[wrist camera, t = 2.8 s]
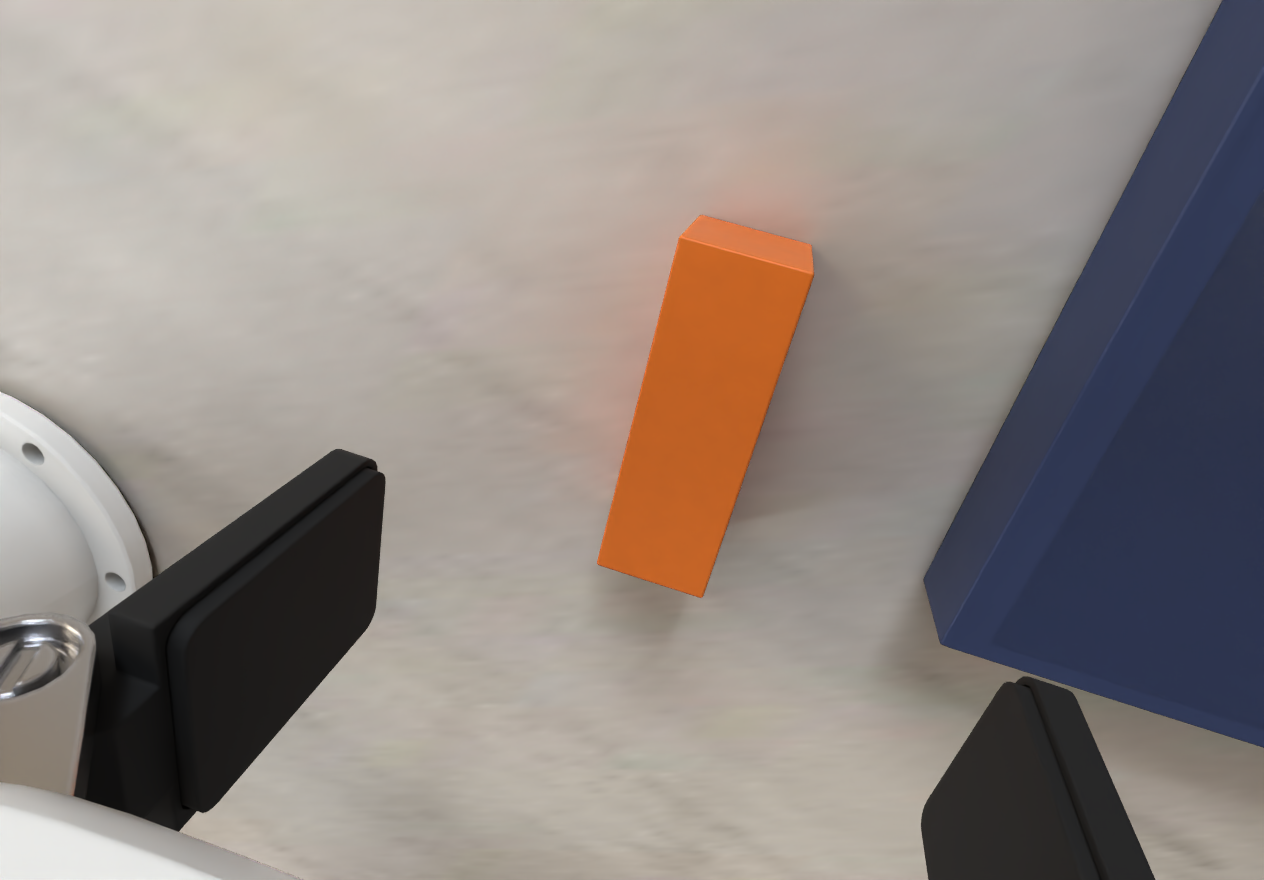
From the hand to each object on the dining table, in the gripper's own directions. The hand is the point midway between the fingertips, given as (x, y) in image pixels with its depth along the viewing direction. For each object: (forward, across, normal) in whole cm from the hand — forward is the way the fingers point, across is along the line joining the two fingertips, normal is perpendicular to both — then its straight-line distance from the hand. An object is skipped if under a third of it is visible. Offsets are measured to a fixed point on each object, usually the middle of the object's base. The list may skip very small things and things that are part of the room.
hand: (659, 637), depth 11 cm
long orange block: (+11, +1, 0) cm, 11 cm away
